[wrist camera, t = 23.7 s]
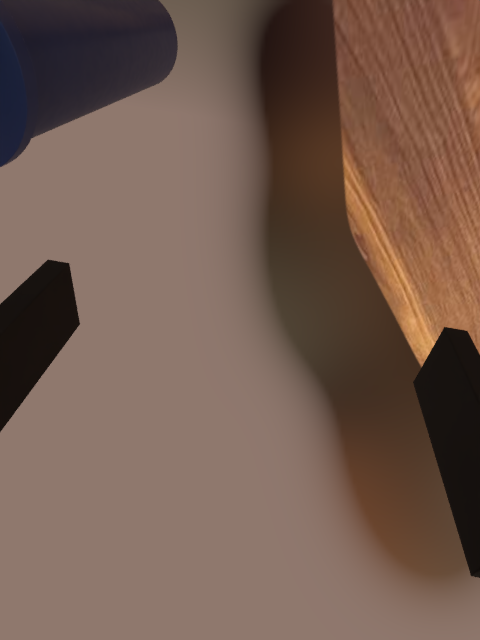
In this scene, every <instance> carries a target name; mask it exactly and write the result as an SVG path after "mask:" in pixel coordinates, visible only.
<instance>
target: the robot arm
mask: <svg viewBox="0 0 480 640" xmlns="http://www.w3.org/2000/svg"><path fill="white" fill-rule="evenodd" d="M79 325H80V323H79V317H78V312H77V305H76V300H75V294H74V288H73V283H72V277H71V271H70V266H69V263H64V262H58V261H52V260H47V261H46V262H45V263H44V264H43V265H42V266H41V267H40V268H39V269H37V271H35V272H34V273H33V274H32V275H31V276H30V277H29V278H28V279H27V280H26V281H25V282H24V283H22V284H21V285H20V286H19V287H18V288H17V289H16V290H15V291H14V292H13V293H12V294H11V295H10V296H9V297H8V298H7V299H5V300H4V301H3V302H2V303H1V304H0V431H1V430H2V429H3V427H4V426H5V425H6V423H7V422H8V421H9V419H10V418H11V417H12V415H13V414H14V413H15V411H16V410H17V409H18V407H19V406H20V405H21V403H22V402H23V401H24V399H25V398H26V396H27V395H28V394H29V392H30V391H31V390H32V388H33V387H34V385H35V384H36V383H37V382H38V380H39V379H40V378H41V376H42V375H43V373H44V372H45V371H46V369H47V368H48V367H49V365H50V364H51V363H52V361H53V360H54V359H55V357H56V356H57V354H58V353H59V352H60V350H61V349H62V348H63V346H64V345H65V344H66V342H67V341H68V340H69V338H70V337H71V336H72V334H73V333H74V331H75V330H76V329H77V327H78V326H79ZM413 383H414V387H415V390H416V393H417V397H418V400H419V403H420V407H421V410H422V413H423V417H424V420H425V423H426V427H427V430H428V433H429V437H430V440H431V443H432V447H433V450H434V453H435V457H436V460H437V463H438V466H439V470H440V473H441V477H442V480H443V483H444V487H445V490H446V493H447V497H448V500H449V503H450V507H451V510H452V513H453V517H454V520H455V523H456V527H457V530H458V534H459V536H460V540H461V544H462V547H463V550H464V554H465V557H466V560H467V564H468V567H469V570H470V573H471V576H474V577H479V578H480V355H479V353H478V351H477V349H476V347H475V345H474V343H473V341H472V339H471V337H470V335H469V333H468V332H467V331H465V330H459V329H453V328H447V327H444V329H443V331H442V332H441V334H440V336H439V338H438V340H437V341H436V343H435V345H434V347H433V348H432V350H431V352H430V354H429V356H428V357H427V359H426V361H425V363H424V364H423V366H422V368H421V370H420V372H419V373H418V375H417V377H416V379H415V380H414V382H413Z"/></svg>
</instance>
